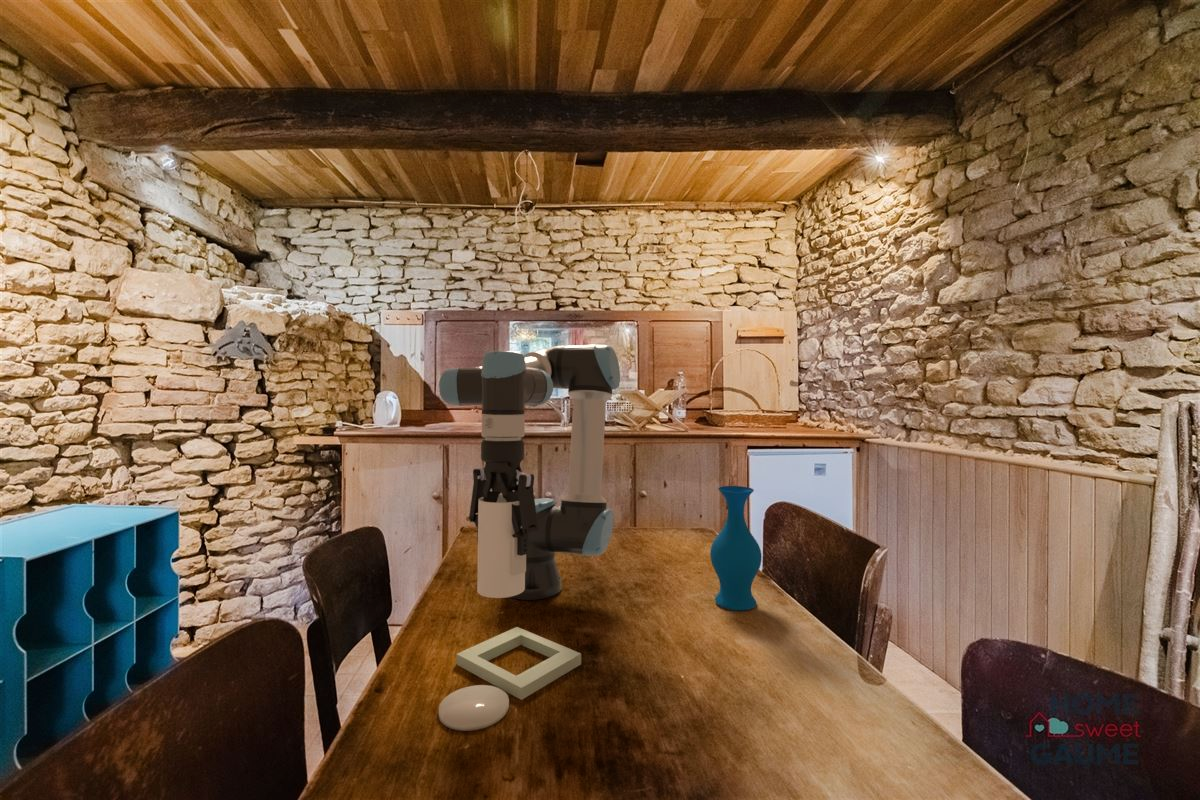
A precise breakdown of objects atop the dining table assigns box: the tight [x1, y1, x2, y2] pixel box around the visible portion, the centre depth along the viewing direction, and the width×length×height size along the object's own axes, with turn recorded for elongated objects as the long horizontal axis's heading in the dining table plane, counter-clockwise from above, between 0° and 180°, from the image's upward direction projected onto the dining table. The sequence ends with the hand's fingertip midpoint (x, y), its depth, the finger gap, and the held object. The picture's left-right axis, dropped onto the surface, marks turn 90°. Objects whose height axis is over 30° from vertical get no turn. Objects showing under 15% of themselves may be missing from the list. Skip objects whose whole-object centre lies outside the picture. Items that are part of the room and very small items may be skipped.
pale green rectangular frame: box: [455, 626, 582, 701], centre depth 98 cm, size 18×15×2 cm
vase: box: [709, 485, 763, 612], centre depth 127 cm, size 12×13×28 cm
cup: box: [476, 494, 525, 599], centre depth 92 cm, size 8×8×16 cm
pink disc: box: [438, 684, 510, 732], centre depth 84 cm, size 11×11×1 cm
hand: (501, 567), depth 92 cm, fingers closed on cup, 8 cm apart
